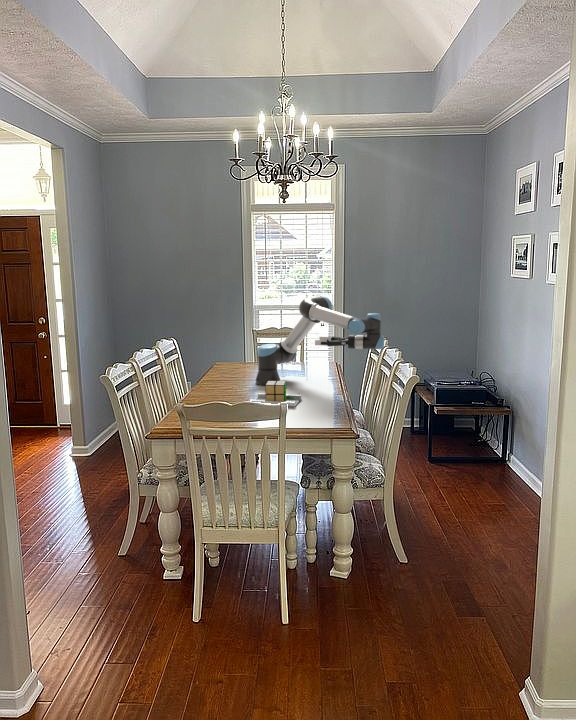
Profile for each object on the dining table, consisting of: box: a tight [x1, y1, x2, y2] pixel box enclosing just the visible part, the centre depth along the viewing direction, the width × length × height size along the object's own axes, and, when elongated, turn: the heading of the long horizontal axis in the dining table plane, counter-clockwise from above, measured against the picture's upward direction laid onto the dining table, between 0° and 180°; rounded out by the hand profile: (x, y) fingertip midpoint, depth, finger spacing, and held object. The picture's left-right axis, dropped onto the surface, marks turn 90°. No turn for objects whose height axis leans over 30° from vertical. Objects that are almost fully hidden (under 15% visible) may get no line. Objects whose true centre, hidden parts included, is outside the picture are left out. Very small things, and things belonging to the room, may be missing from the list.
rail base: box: [249, 392, 302, 409], centre depth 315 cm, size 24×17×3 cm
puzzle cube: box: [264, 380, 287, 401], centre depth 314 cm, size 10×10×10 cm
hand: (317, 340), depth 330 cm, fingers open, 13 cm apart
